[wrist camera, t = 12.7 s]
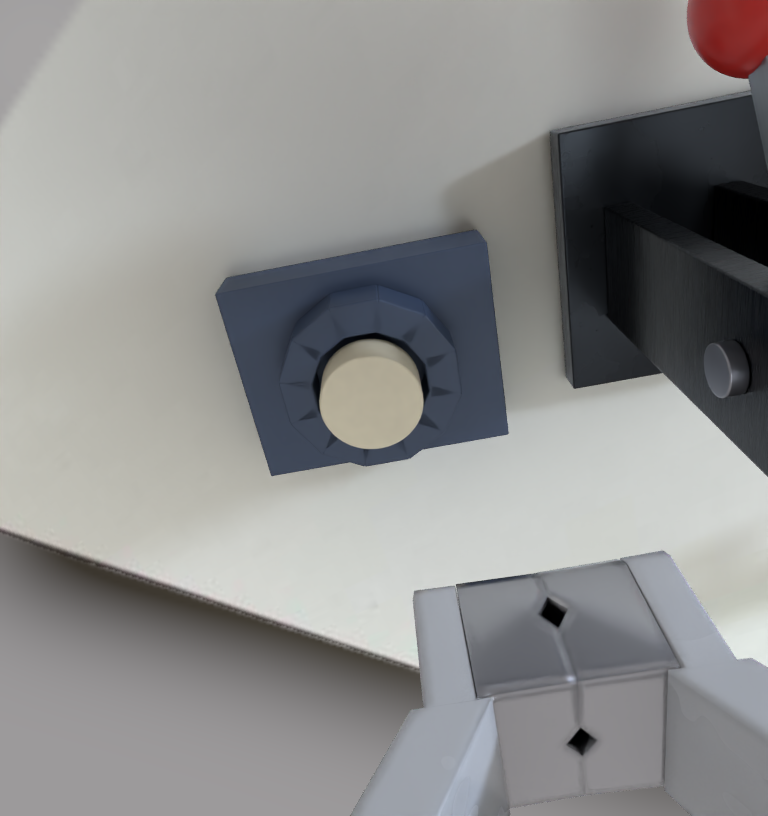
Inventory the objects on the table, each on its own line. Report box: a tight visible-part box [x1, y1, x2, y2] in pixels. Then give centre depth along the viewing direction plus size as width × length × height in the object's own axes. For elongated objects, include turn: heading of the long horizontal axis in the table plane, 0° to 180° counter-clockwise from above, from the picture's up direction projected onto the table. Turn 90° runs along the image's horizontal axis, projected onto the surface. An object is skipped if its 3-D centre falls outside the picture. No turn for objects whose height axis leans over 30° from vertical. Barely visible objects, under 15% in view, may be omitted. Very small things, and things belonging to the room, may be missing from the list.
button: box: [319, 339, 424, 449], centre depth 24 cm, size 4×4×2 cm
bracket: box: [550, 91, 768, 477], centre depth 20 cm, size 10×8×13 cm
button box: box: [215, 230, 509, 476], centre depth 26 cm, size 8×10×4 cm
